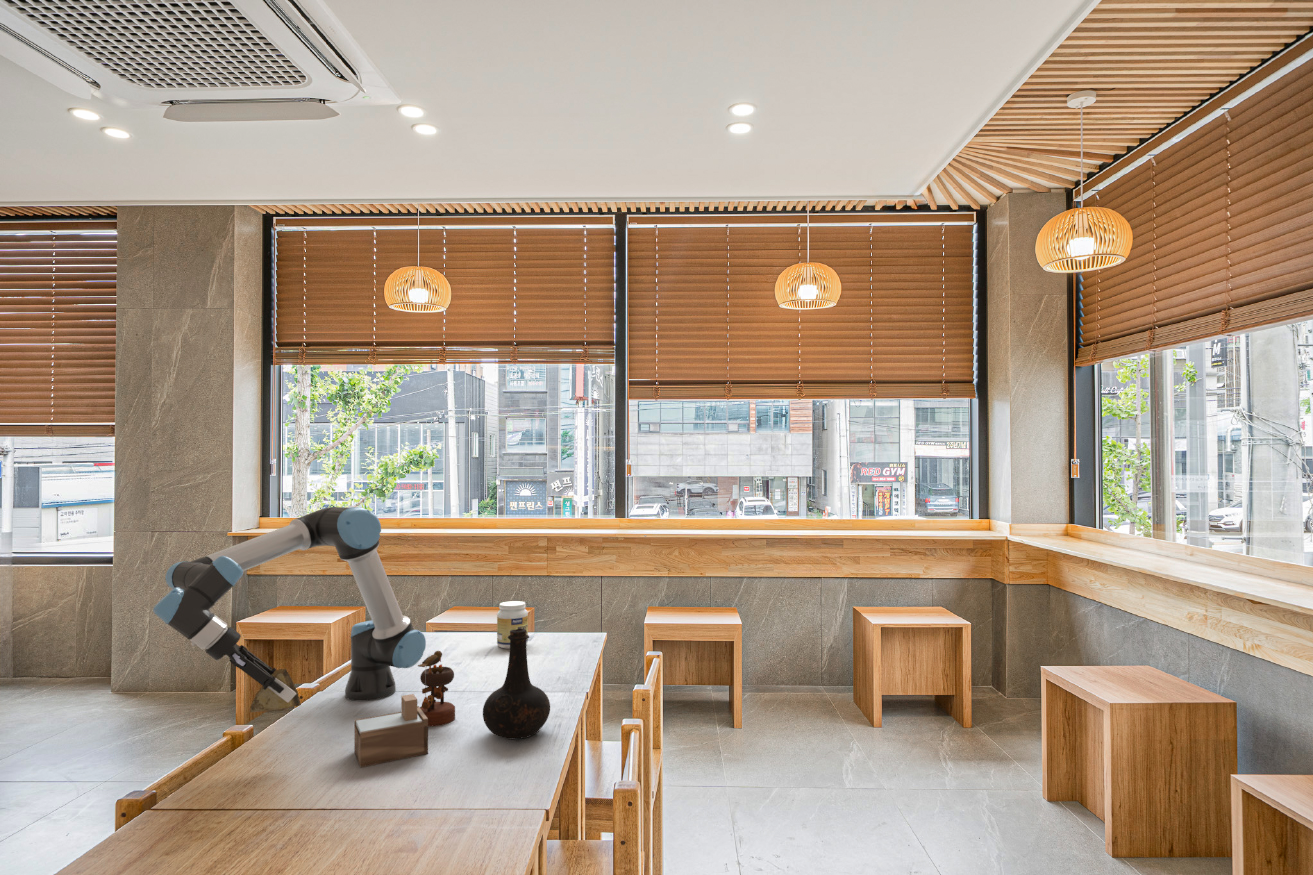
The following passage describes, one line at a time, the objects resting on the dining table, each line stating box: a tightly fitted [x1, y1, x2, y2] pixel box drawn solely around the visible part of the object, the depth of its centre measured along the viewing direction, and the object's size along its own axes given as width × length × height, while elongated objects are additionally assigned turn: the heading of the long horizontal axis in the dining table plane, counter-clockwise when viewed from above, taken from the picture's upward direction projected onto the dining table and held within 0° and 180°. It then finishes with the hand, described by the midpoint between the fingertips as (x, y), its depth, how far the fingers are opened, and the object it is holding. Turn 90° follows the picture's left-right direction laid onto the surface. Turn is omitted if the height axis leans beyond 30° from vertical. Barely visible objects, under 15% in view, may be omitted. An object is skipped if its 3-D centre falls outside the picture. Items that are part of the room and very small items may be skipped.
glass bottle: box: [482, 629, 551, 740], centre depth 199 cm, size 18×18×28 cm
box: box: [353, 705, 429, 768], centre depth 186 cm, size 11×16×9 cm
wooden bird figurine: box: [417, 650, 456, 727], centre depth 211 cm, size 15×11×20 cm
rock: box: [249, 668, 302, 713], centre depth 185 cm, size 11×9×10 cm
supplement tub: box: [496, 600, 529, 650], centre depth 294 cm, size 12×12×17 cm
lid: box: [356, 693, 422, 733], centre depth 186 cm, size 9×15×6 cm, turn 120°
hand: (291, 694), depth 186 cm, fingers closed on rock, 5 cm apart
